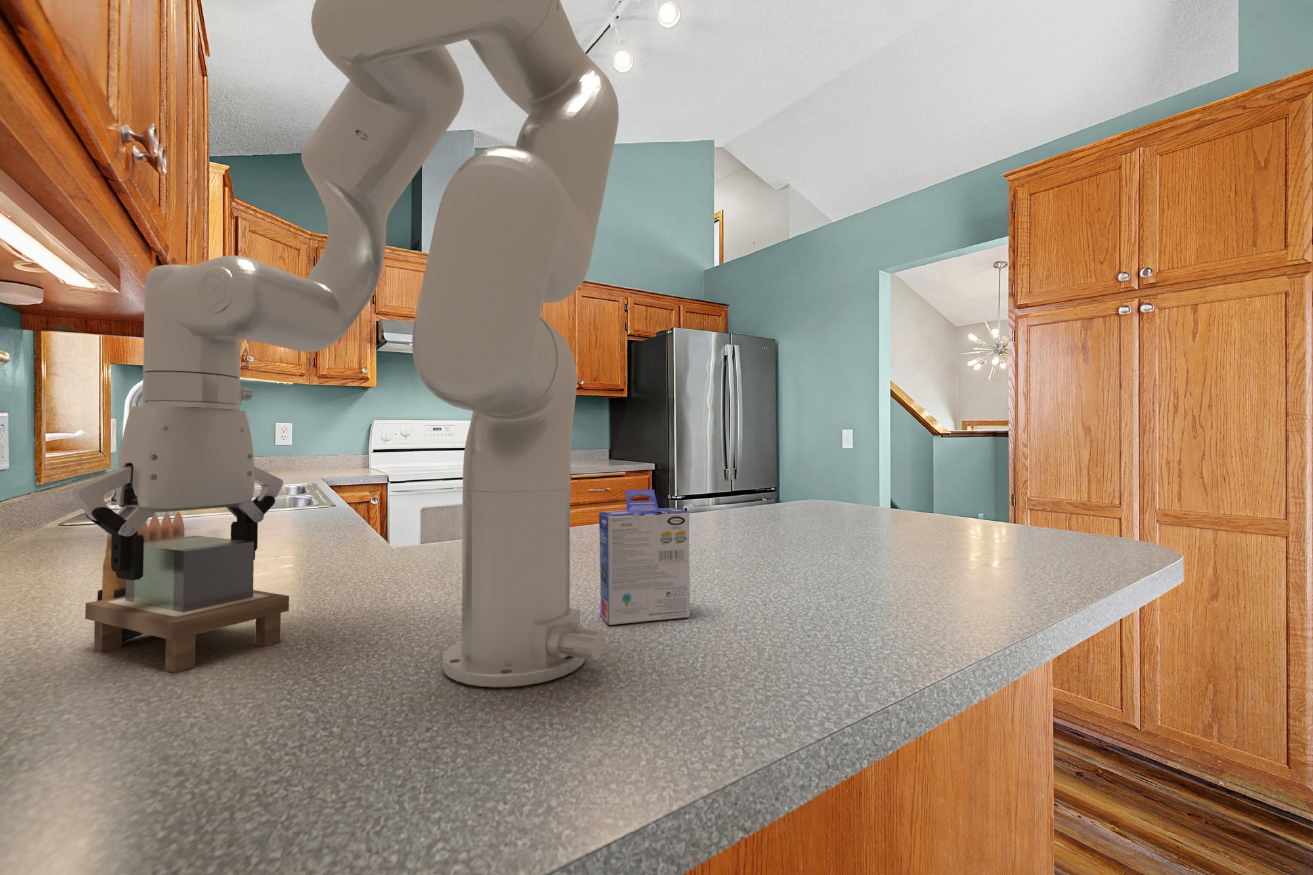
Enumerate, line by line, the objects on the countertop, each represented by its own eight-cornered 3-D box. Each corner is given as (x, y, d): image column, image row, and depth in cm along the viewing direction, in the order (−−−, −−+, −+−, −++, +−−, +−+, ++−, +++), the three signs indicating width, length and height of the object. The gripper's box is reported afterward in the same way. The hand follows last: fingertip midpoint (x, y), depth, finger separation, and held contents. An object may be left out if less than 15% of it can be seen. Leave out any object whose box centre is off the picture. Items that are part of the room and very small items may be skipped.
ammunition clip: (114, 642, 57) (117, 520, 58) (93, 643, 57) (97, 520, 58) (190, 614, 68) (192, 511, 69) (173, 614, 68) (175, 511, 68)
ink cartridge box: (676, 606, 72) (675, 488, 72) (692, 618, 66) (692, 491, 67) (597, 613, 68) (597, 490, 69) (608, 627, 63) (608, 493, 64)
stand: (288, 640, 59) (289, 595, 59) (171, 675, 50) (172, 621, 50) (202, 622, 65) (203, 581, 65) (84, 650, 56) (85, 602, 56)
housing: (195, 587, 62) (196, 535, 62) (253, 597, 58) (253, 541, 58) (125, 600, 57) (126, 543, 57) (183, 612, 52) (184, 551, 53)
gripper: (260, 402, 67) (258, 552, 67) (57, 388, 52) (52, 583, 51) (302, 400, 64) (300, 557, 64) (99, 384, 48) (95, 592, 48)
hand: (190, 568), depth 57 cm, fingers open, 9 cm apart
